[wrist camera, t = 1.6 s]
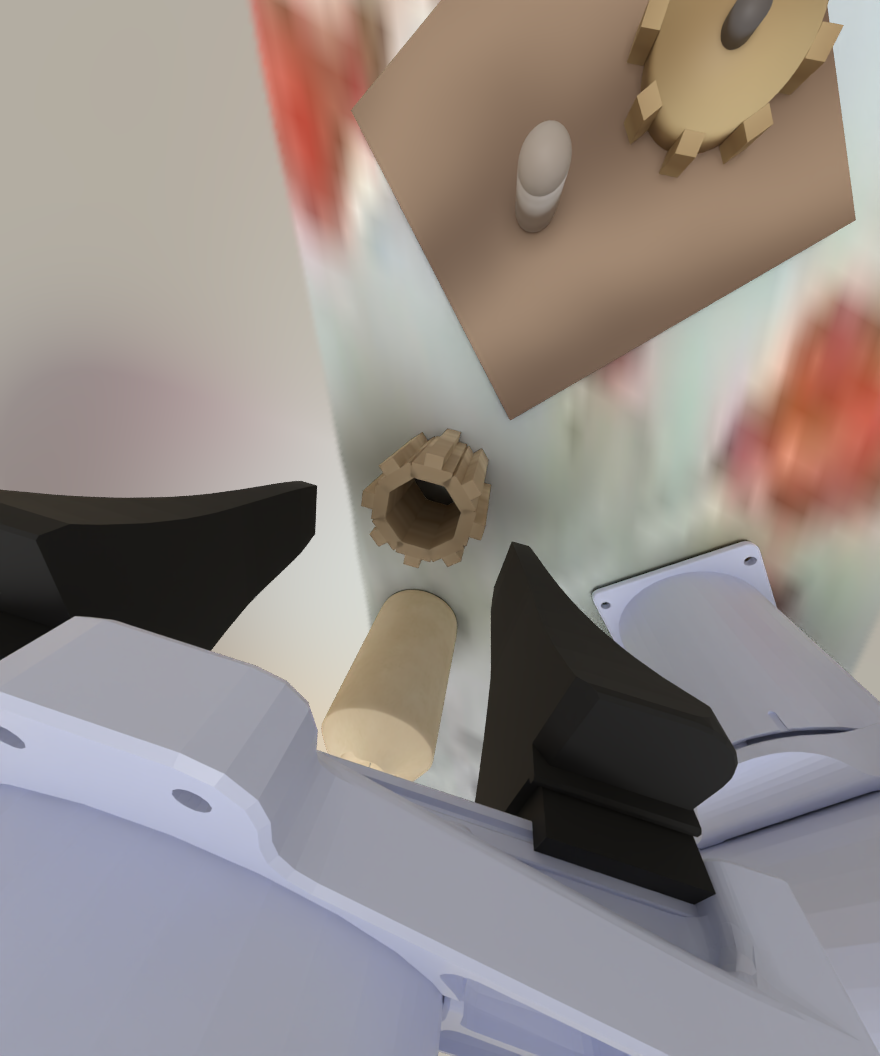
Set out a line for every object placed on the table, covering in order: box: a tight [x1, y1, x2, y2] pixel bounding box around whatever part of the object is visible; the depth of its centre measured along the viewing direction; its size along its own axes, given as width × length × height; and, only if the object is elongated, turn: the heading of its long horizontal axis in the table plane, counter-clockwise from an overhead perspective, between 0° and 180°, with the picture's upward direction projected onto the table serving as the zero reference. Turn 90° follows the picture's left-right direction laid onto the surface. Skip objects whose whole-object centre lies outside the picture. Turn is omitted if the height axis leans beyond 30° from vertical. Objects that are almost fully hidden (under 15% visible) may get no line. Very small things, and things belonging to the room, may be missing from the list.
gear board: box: [351, 0, 856, 420], centre depth 10 cm, size 12×12×5 cm
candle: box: [321, 590, 457, 782], centre depth 18 cm, size 6×6×10 cm
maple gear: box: [361, 429, 491, 568], centre depth 16 cm, size 5×5×5 cm
